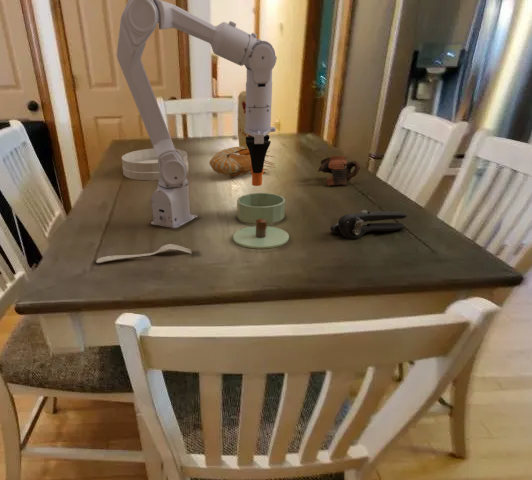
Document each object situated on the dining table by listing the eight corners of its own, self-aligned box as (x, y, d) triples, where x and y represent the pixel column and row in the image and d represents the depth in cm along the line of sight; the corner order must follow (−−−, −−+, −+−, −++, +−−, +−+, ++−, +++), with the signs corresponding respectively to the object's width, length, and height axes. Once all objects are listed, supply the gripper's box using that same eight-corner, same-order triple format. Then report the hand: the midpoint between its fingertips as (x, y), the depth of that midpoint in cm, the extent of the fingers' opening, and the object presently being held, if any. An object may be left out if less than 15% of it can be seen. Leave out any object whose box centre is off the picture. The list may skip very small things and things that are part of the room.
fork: (100, 269, 100) (96, 257, 98) (195, 251, 100) (192, 238, 98) (99, 275, 97) (95, 263, 96) (196, 256, 98) (194, 243, 96)
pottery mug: (316, 188, 136) (314, 158, 135) (323, 194, 144) (321, 167, 143) (358, 179, 130) (357, 148, 129) (363, 186, 139) (362, 158, 138)
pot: (271, 228, 109) (272, 210, 106) (228, 221, 114) (228, 203, 112) (291, 214, 117) (293, 196, 114) (251, 207, 122) (251, 190, 119)
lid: (273, 255, 97) (274, 234, 94) (222, 245, 102) (222, 225, 99) (297, 236, 105) (299, 216, 102) (249, 227, 110) (249, 208, 108)
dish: (112, 179, 150) (109, 162, 147) (137, 162, 167) (135, 147, 164) (177, 181, 145) (176, 164, 142) (196, 164, 162) (195, 148, 159)
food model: (236, 150, 177) (236, 89, 165) (253, 149, 178) (254, 88, 165) (239, 156, 169) (239, 92, 157) (257, 155, 170) (258, 91, 158)
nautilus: (273, 169, 155) (277, 184, 143) (209, 167, 155) (208, 182, 143) (276, 143, 150) (281, 156, 138) (209, 141, 149) (209, 154, 138)
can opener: (341, 245, 100) (345, 219, 96) (326, 234, 105) (329, 209, 102) (413, 233, 103) (419, 208, 100) (395, 223, 109) (400, 199, 105)
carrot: (259, 186, 112) (260, 146, 106) (248, 185, 113) (249, 145, 108) (265, 183, 114) (266, 143, 108) (254, 182, 115) (255, 142, 110)
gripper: (278, 110, 97) (275, 178, 106) (274, 101, 109) (272, 163, 117) (245, 111, 98) (244, 179, 106) (244, 102, 109) (244, 163, 118)
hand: (257, 170), depth 112 cm, fingers closed on carrot, 3 cm apart
